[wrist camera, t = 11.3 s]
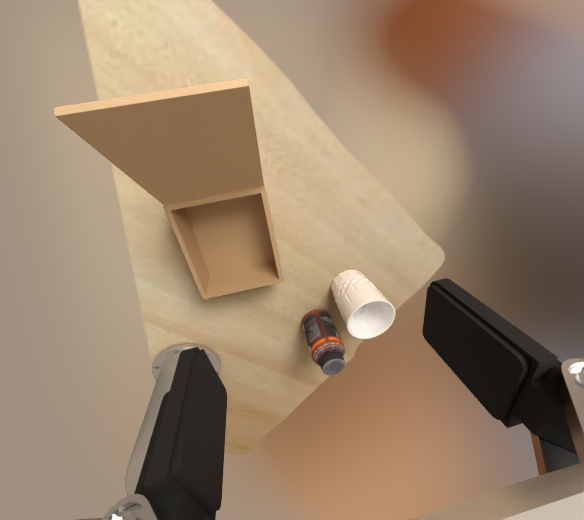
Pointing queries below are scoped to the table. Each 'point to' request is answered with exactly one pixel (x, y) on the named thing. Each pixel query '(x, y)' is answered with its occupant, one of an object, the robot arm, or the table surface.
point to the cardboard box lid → (176, 138)
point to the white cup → (361, 305)
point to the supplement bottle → (324, 342)
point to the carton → (227, 241)
